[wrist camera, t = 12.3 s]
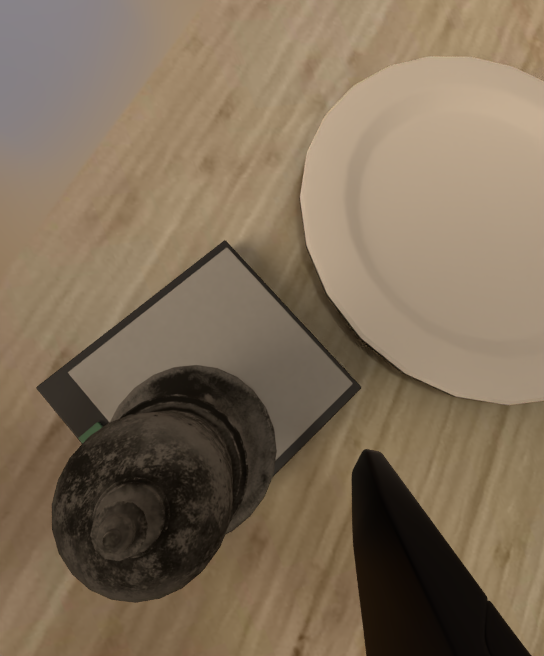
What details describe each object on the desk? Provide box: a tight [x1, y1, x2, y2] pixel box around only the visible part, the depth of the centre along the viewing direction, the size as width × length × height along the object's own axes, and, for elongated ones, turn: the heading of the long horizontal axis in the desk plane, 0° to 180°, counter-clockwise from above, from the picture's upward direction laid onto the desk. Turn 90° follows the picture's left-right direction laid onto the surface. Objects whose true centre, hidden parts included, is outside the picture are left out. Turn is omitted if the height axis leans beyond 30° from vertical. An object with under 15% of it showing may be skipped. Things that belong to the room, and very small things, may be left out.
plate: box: [300, 56, 544, 405], centre depth 21 cm, size 21×21×2 cm
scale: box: [36, 241, 361, 476], centre depth 17 cm, size 11×10×2 cm
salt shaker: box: [52, 365, 277, 603], centre depth 10 cm, size 6×6×12 cm
